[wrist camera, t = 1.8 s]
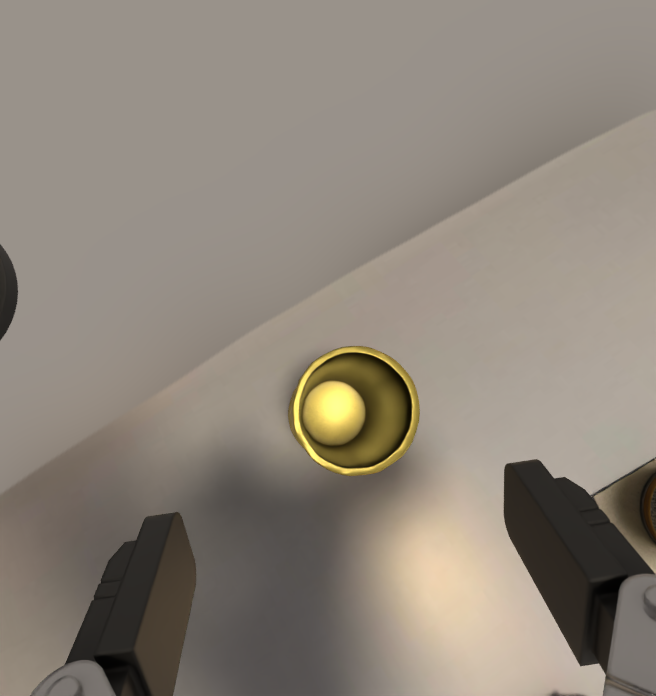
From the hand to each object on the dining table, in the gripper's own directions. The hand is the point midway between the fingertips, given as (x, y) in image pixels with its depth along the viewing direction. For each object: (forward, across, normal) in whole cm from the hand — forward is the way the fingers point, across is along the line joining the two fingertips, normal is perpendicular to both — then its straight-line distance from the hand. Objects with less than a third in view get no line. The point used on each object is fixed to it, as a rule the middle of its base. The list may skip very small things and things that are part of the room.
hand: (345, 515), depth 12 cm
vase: (+20, 0, +9) cm, 22 cm away
